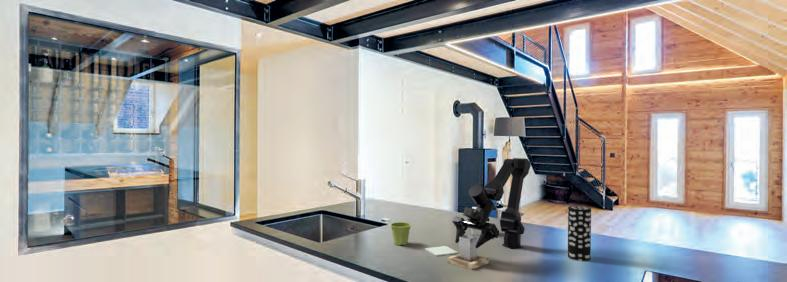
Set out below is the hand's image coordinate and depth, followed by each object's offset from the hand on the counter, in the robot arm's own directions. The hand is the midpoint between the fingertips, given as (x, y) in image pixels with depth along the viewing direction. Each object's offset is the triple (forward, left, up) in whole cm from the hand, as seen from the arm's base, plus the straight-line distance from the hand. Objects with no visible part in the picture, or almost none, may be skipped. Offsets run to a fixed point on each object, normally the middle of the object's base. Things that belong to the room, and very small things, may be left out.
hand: (465, 245), depth 151 cm
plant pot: (+12, -35, -7) cm, 37 cm away
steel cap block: (-1, -1, -7) cm, 7 cm away
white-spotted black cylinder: (-46, +10, -7) cm, 48 cm away
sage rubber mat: (+1, -18, -7) cm, 19 cm away
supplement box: (-32, -38, -7) cm, 50 cm away
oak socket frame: (-1, -1, -7) cm, 7 cm away
